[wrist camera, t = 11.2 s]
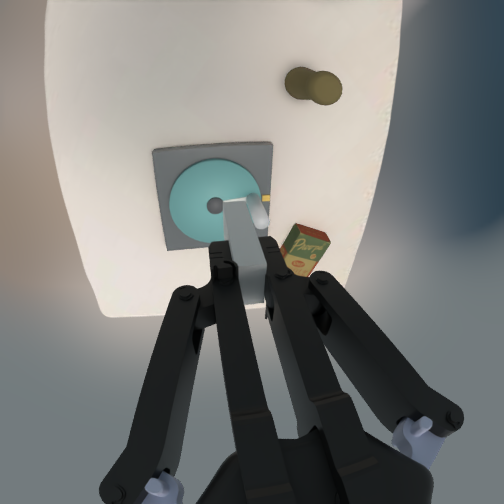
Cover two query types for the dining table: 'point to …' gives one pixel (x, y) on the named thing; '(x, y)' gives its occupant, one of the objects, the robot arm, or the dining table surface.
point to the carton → (304, 249)
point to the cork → (313, 85)
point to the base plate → (180, 158)
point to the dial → (213, 198)
